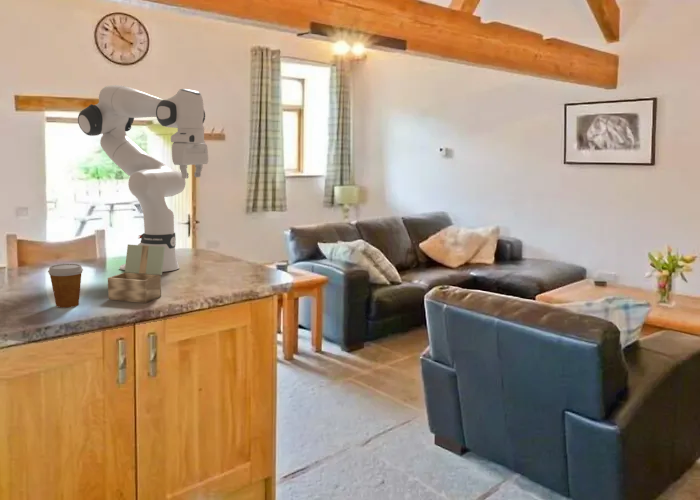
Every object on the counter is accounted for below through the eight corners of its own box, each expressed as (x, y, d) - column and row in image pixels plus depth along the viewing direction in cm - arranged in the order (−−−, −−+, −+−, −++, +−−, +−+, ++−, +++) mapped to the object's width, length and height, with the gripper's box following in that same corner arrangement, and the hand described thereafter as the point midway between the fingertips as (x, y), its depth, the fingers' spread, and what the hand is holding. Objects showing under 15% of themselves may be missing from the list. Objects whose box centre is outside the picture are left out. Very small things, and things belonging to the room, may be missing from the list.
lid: (127, 244, 202) (129, 244, 203) (124, 271, 201) (126, 272, 202) (163, 246, 199) (164, 246, 200) (160, 274, 198) (161, 274, 199)
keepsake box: (108, 299, 194) (107, 277, 193) (125, 293, 202) (124, 272, 201) (145, 303, 191) (145, 280, 190) (161, 296, 200) (160, 275, 198)
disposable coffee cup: (73, 299, 193) (71, 261, 191) (91, 304, 188) (89, 265, 186) (43, 305, 185) (41, 266, 183) (61, 311, 180) (59, 270, 178)
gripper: (196, 137, 224) (196, 176, 226) (168, 136, 204) (168, 178, 206) (212, 138, 222) (212, 177, 224) (185, 137, 202) (186, 179, 205)
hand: (191, 177), depth 215 cm, fingers open, 8 cm apart
